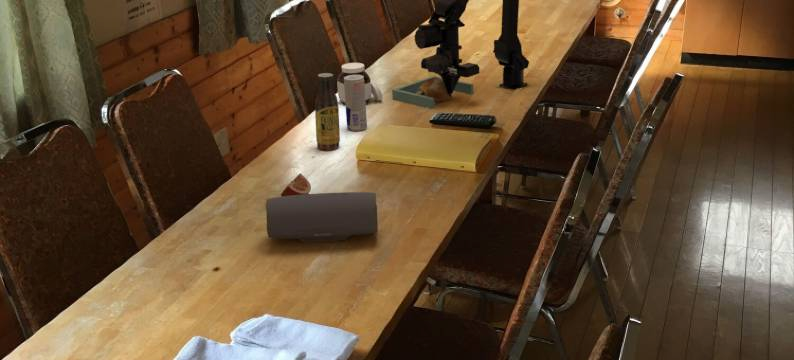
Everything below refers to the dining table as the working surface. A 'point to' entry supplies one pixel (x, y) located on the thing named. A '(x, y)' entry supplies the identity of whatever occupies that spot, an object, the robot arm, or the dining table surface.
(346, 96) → the beverage can
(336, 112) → the sauce bottle
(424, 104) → the teal u-shaped frame
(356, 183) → the dining table surface
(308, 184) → the fruit slice
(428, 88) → the bread roll
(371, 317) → the dining table surface
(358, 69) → the spread jar
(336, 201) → the bluetooth speaker
